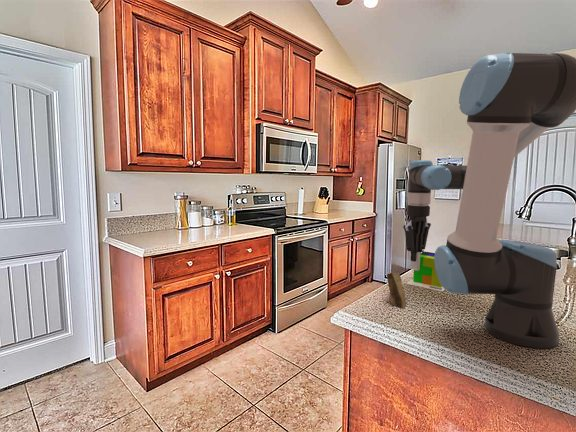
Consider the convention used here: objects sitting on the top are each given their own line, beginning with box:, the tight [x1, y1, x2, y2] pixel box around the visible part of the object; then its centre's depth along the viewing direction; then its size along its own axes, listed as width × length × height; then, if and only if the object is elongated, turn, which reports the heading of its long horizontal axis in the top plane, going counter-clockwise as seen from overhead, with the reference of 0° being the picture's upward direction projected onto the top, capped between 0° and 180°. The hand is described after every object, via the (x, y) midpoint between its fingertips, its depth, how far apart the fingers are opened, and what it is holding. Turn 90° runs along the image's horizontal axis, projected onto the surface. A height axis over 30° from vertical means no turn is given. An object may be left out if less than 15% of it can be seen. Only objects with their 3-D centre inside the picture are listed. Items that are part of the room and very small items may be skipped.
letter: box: [405, 279, 446, 292], centre depth 123 cm, size 18×13×1 cm
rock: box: [386, 271, 407, 309], centre depth 103 cm, size 11×9×10 cm
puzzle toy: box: [413, 251, 442, 288], centre depth 123 cm, size 10×10×10 cm
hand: (414, 269), depth 117 cm, fingers closed
